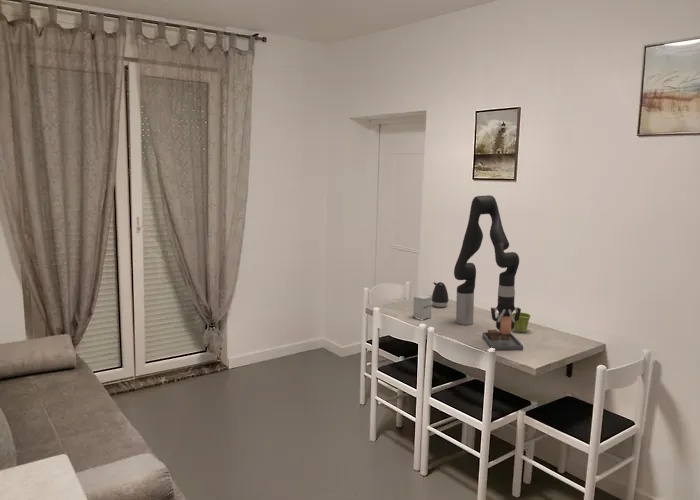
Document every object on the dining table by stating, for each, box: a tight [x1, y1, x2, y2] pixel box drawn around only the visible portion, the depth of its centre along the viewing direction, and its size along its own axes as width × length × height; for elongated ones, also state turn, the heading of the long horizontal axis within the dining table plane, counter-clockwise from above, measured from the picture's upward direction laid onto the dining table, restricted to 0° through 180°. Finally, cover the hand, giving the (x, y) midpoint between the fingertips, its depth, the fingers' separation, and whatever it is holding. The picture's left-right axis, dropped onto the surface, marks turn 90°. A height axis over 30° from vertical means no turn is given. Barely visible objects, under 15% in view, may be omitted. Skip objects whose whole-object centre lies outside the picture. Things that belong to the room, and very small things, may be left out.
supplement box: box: [412, 294, 432, 319], centre depth 297 cm, size 7×7×13 cm
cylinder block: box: [498, 315, 512, 334], centre depth 250 cm, size 6×6×8 cm
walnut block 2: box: [501, 333, 510, 340], centre depth 260 cm, size 4×4×4 cm
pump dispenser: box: [431, 281, 449, 308], centre depth 322 cm, size 10×10×15 cm
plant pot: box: [512, 312, 532, 334], centre depth 273 cm, size 9×9×9 cm
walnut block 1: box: [487, 329, 499, 340], centre depth 260 cm, size 4×4×4 cm
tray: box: [481, 331, 524, 351], centre depth 255 cm, size 20×14×2 cm
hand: (504, 329), depth 250 cm, fingers closed on cylinder block, 5 cm apart
